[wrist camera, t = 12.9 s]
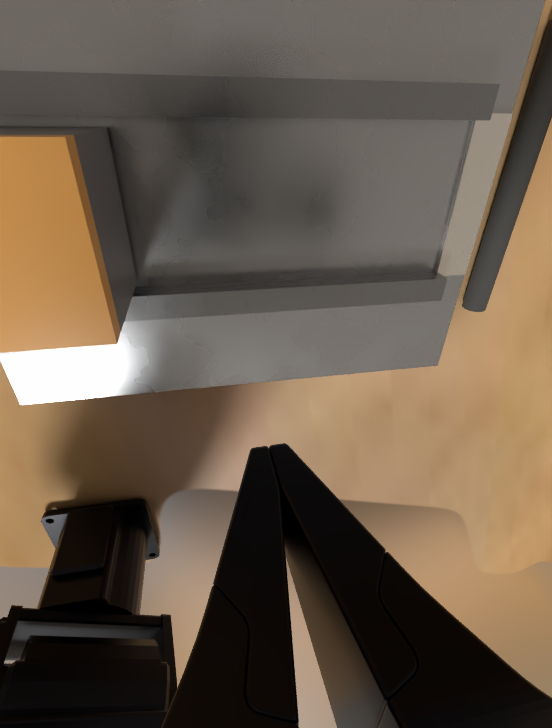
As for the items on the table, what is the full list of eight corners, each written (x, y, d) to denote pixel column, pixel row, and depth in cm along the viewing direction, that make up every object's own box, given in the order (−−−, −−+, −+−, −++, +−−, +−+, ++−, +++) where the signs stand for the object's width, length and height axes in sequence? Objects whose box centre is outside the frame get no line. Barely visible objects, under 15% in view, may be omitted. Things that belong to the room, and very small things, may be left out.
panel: (410, 337, 22) (447, 376, 19) (42, 367, 19) (11, 420, 16) (504, -56, 14) (601, -107, 10) (-146, -114, 11) (-297, -213, 7)
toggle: (137, 281, 15) (116, 344, 11) (22, 287, 14) (-42, 356, 10) (106, 127, 12) (64, 136, 8) (-38, 125, 11) (-158, 135, 7)
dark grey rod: (476, 301, 22) (490, 311, 21) (457, 303, 22) (470, 312, 21) (567, 24, 15) (593, 18, 14) (541, 22, 15) (565, 16, 14)
